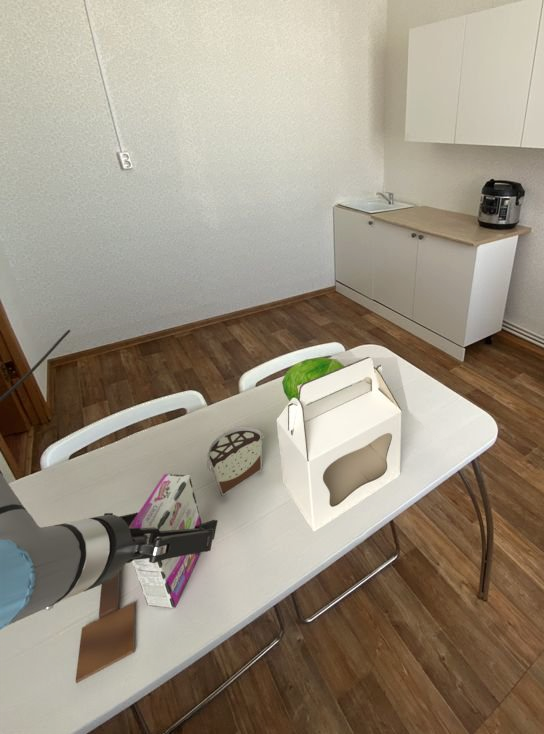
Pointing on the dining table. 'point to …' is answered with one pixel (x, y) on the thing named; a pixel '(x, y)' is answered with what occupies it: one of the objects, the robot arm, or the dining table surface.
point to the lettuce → (308, 374)
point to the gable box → (339, 441)
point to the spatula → (107, 633)
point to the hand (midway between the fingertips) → (175, 525)
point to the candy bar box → (166, 512)
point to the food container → (235, 457)
